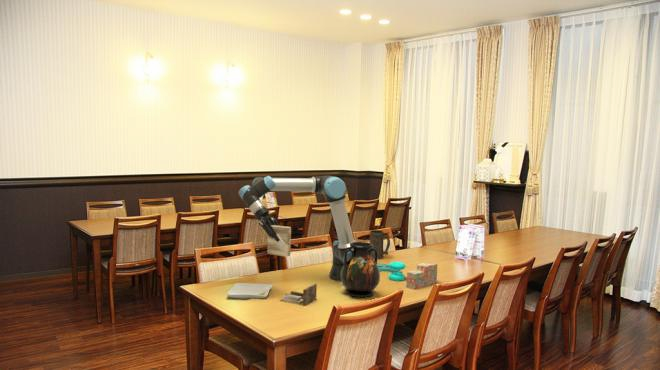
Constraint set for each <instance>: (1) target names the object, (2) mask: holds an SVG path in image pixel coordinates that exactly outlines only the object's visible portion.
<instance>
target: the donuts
mask: <svg viewBox="0 0 660 370" xmlns="http://www.w3.org/2000/svg"><path fill="white" fill-rule="evenodd" d="M388 265H389V267H390V268H391V269H394V270H400V271H402V270H404V269H406V263H404V262H401V261H391V262H389V264H388ZM388 279H390V280H391V281H396V282H400V281H404V280H405V279H406V276H405V274H403V272H402V273H399V272H393V273H391V272H390V273H389V274H388Z"/></svg>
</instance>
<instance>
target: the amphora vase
mask: <svg viewBox="0 0 660 370" xmlns="http://www.w3.org/2000/svg"><path fill="white" fill-rule="evenodd" d="M350 247H352V248H353V251H352V250H351V249H347V250H346V251H345V254H344V264H343V267H342V270H341V281H340V282H341V283H342V285H343V287H344V288H345V289H344V294H345V295H347V296H349V297H350V298H352V299H353V298H355V299H368V298H372V297H374V295H375V289H376V288H377V286H378V285H380V281H381V280H380V279H381V271H380V272H379V269H378V266H377V264H378V259H377V257H378V254H377V251H376V249H374V248H372V247H373V245H372V244H371V243H370V242H366V241H357V242H353V243H350ZM370 248H372V249H370ZM349 251H351V254H352V255H351V256H350V257H349V258H348V259H347V253H348V252H349ZM372 251H374V252H375V259H373V258H372V257H371V256H370V254H371V252H372Z"/></svg>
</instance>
